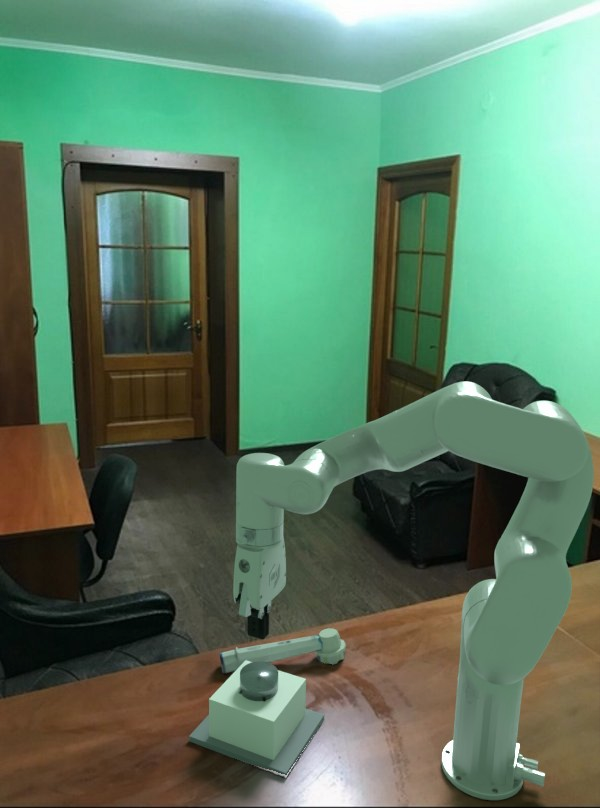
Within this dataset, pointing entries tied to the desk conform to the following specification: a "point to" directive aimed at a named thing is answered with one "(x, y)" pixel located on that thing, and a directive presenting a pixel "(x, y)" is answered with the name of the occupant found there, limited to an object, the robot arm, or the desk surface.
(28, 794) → the desk surface
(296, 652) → the white flashlight
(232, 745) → the hitch block
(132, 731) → the desk surface
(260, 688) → the steel pin
